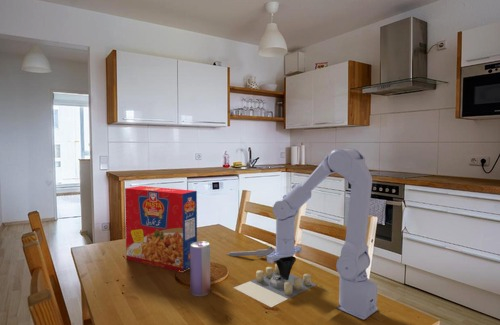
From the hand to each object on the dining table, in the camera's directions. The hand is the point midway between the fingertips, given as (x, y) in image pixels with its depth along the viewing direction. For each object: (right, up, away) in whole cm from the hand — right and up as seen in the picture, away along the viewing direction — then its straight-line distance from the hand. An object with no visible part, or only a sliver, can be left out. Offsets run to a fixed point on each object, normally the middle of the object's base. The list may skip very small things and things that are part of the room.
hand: (284, 279), depth 103 cm
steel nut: (-2, -1, -2) cm, 3 cm away
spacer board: (-3, -2, -3) cm, 5 cm away
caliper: (-11, -1, +24) cm, 26 cm away
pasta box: (-45, -1, +20) cm, 49 cm away
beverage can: (-26, -2, -5) cm, 27 cm away
